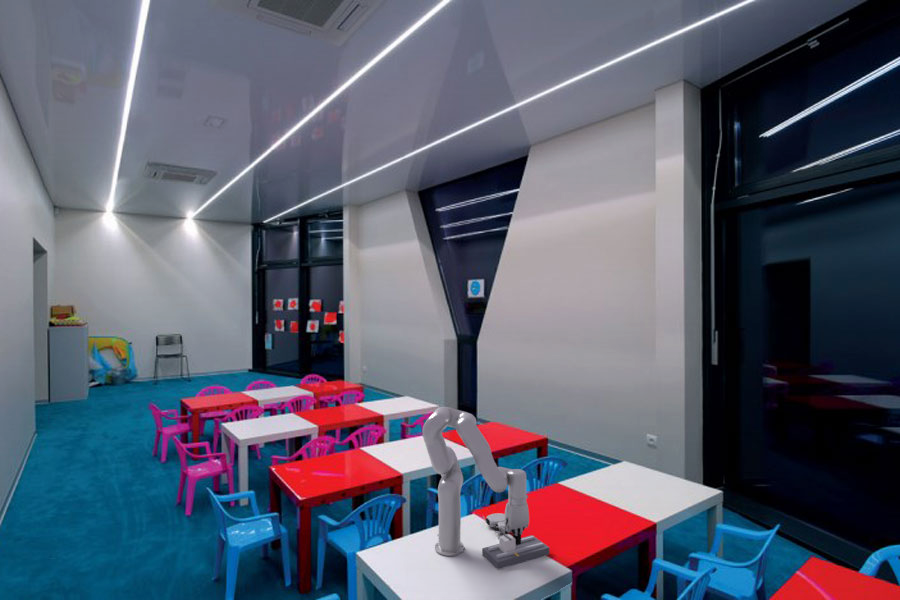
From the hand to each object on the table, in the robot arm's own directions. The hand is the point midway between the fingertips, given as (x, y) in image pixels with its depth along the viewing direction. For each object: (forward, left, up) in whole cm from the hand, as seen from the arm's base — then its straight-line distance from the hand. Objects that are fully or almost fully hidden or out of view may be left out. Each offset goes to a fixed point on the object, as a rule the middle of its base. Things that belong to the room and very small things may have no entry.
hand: (517, 543), depth 202 cm
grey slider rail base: (0, -1, -5) cm, 5 cm away
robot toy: (-23, +7, -5) cm, 25 cm away
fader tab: (0, -5, -2) cm, 5 cm away
